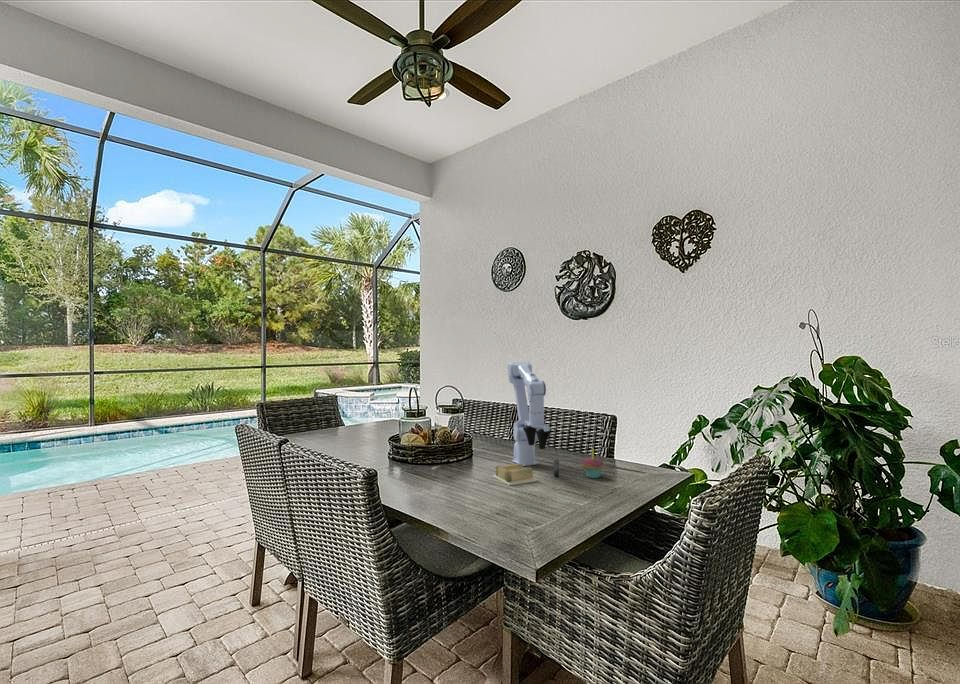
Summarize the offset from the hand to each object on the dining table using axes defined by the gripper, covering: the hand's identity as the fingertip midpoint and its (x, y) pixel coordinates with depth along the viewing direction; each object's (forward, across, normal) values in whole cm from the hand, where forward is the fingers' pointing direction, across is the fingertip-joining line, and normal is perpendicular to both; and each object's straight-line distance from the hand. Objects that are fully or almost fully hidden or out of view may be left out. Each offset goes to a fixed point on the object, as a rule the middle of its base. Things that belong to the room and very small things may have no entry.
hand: (536, 446), depth 180 cm
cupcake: (+11, +12, +17) cm, 24 cm away
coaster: (+10, +2, -11) cm, 16 cm away
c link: (+10, +2, -11) cm, 15 cm away
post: (+10, +6, +5) cm, 13 cm away
